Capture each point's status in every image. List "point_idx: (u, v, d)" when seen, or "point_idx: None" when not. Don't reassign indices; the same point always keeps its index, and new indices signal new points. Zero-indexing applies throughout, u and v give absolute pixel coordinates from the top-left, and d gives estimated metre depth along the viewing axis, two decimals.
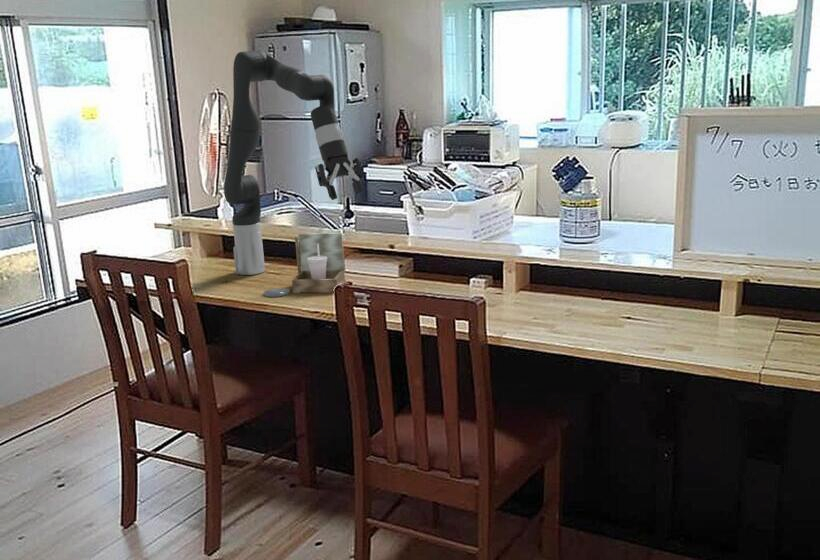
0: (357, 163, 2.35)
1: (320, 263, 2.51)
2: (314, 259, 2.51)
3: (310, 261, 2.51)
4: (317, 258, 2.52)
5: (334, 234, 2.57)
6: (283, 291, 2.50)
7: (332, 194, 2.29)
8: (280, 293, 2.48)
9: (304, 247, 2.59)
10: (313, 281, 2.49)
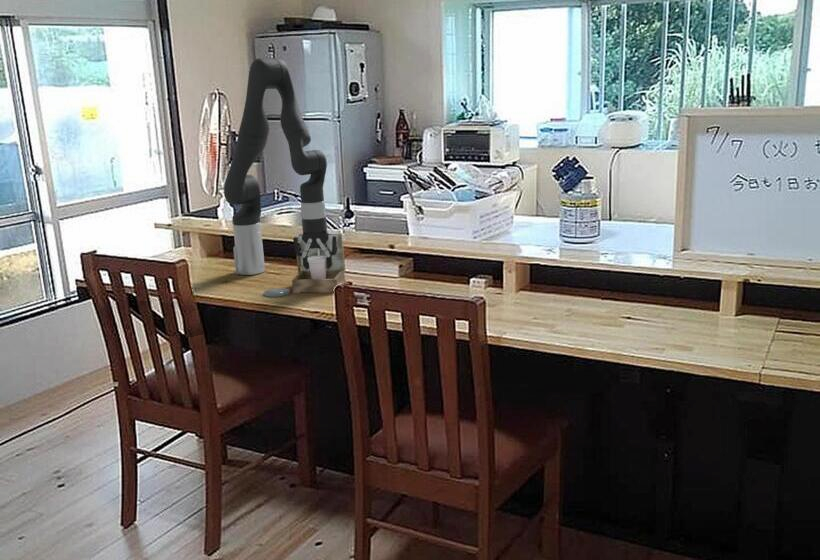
0: (333, 241, 2.50)
1: (320, 263, 2.51)
2: (314, 259, 2.51)
3: (310, 261, 2.51)
4: (317, 258, 2.52)
5: (334, 234, 2.57)
6: (283, 291, 2.50)
7: (304, 265, 2.53)
8: (280, 293, 2.48)
9: (304, 247, 2.59)
10: (313, 281, 2.49)
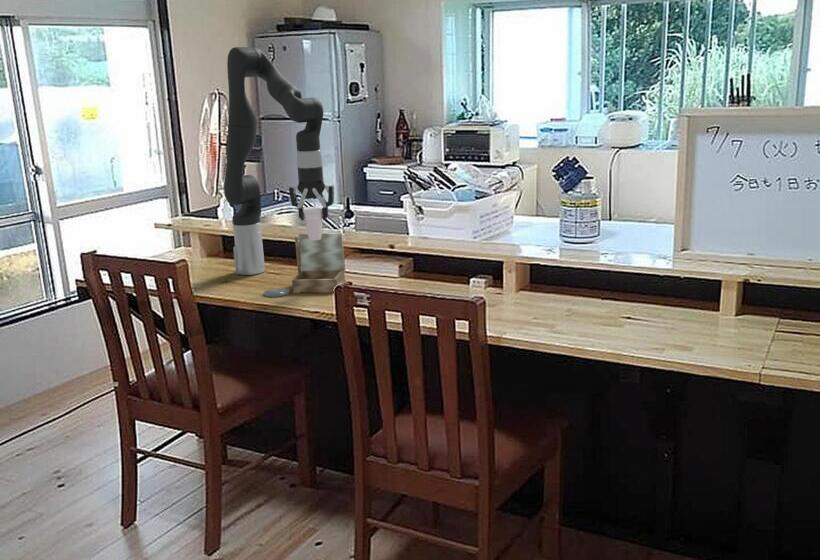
0: (329, 191, 2.46)
1: (316, 214, 2.47)
2: (310, 210, 2.47)
3: (306, 211, 2.47)
4: (313, 209, 2.48)
5: (334, 234, 2.57)
6: (283, 291, 2.50)
7: (299, 216, 2.49)
8: (280, 293, 2.48)
9: (304, 247, 2.59)
10: (313, 281, 2.49)
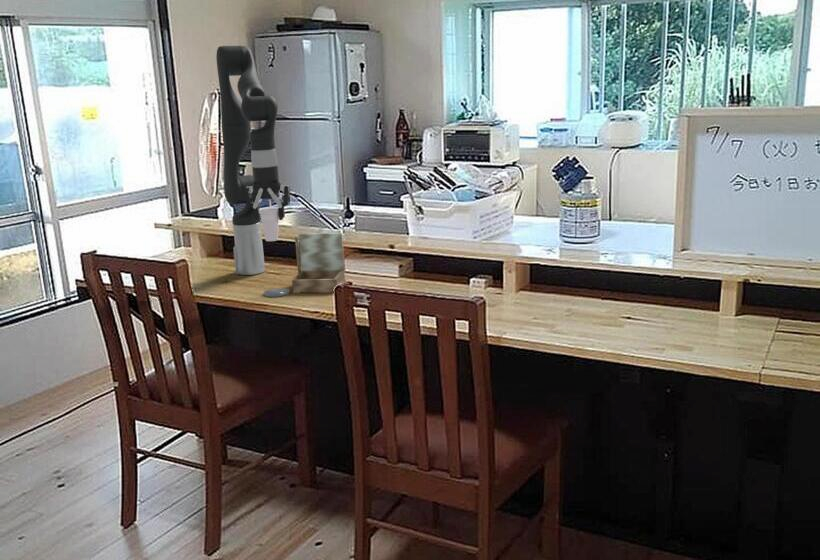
0: (285, 191, 2.41)
1: (271, 214, 2.42)
2: (265, 210, 2.42)
3: (261, 212, 2.42)
4: (269, 209, 2.43)
5: (334, 234, 2.57)
6: (283, 291, 2.50)
7: (255, 216, 2.44)
8: (280, 293, 2.48)
9: (304, 247, 2.59)
10: (313, 281, 2.49)
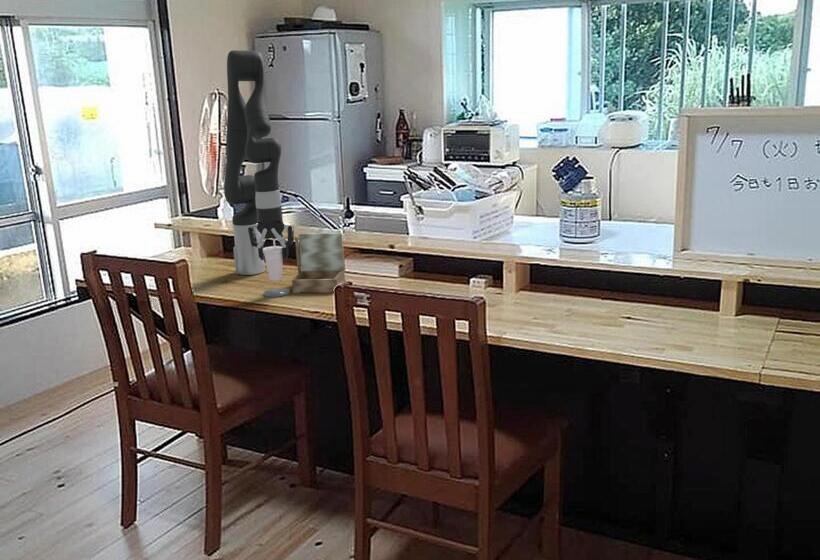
0: (289, 231, 2.44)
1: (275, 254, 2.45)
2: (269, 250, 2.45)
3: (265, 252, 2.45)
4: (273, 249, 2.46)
5: (334, 234, 2.57)
6: (283, 291, 2.50)
7: (259, 255, 2.47)
8: (280, 293, 2.48)
9: (304, 247, 2.59)
10: (313, 281, 2.49)
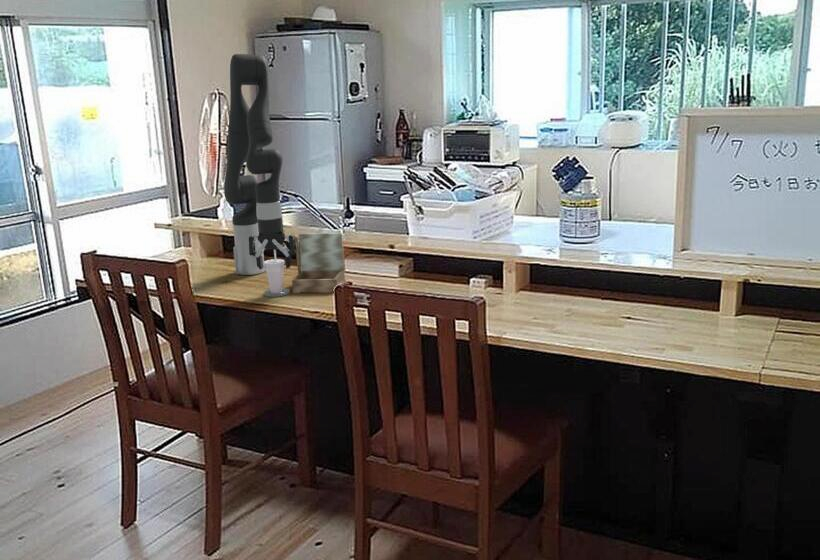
0: (290, 240, 2.44)
1: (277, 267, 2.46)
2: (271, 263, 2.46)
3: (266, 265, 2.46)
4: (274, 262, 2.47)
5: (334, 234, 2.57)
6: (283, 291, 2.50)
7: (257, 265, 2.48)
8: (280, 293, 2.48)
9: (304, 247, 2.59)
10: (313, 281, 2.49)
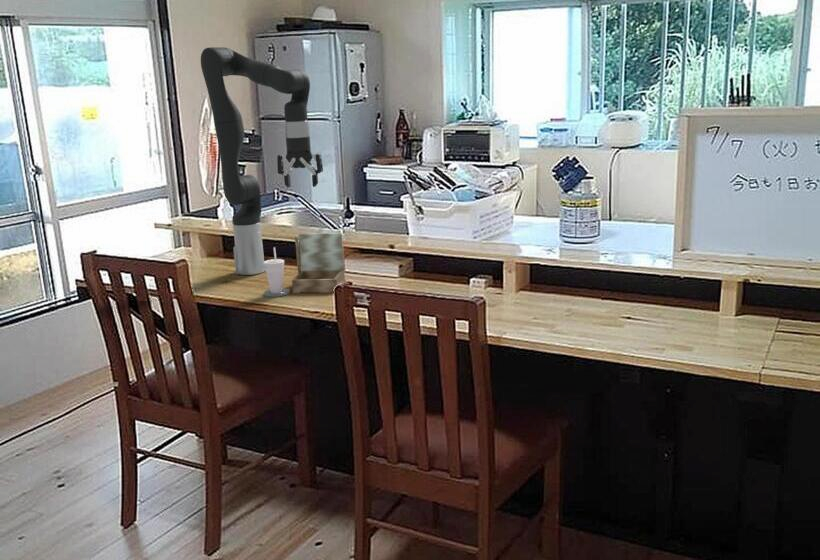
0: (317, 159, 2.54)
1: (276, 267, 2.46)
2: (270, 263, 2.46)
3: (266, 265, 2.46)
4: (274, 262, 2.47)
5: (334, 234, 2.57)
6: (283, 291, 2.50)
7: (285, 183, 2.58)
8: (280, 293, 2.48)
9: (304, 247, 2.59)
10: (313, 281, 2.49)
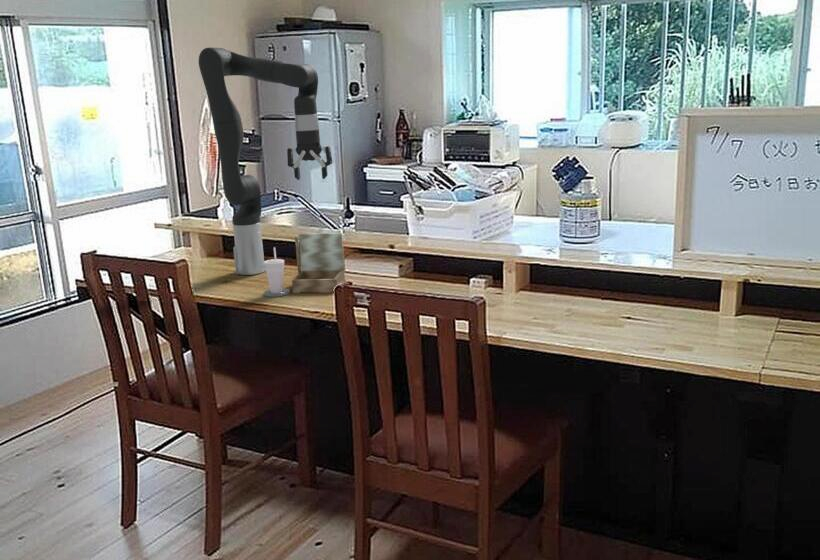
0: (326, 151, 2.59)
1: (276, 267, 2.46)
2: (270, 263, 2.46)
3: (266, 265, 2.46)
4: (274, 262, 2.47)
5: (334, 234, 2.57)
6: (283, 291, 2.50)
7: (295, 175, 2.63)
8: (280, 293, 2.48)
9: (304, 247, 2.59)
10: (313, 281, 2.49)
